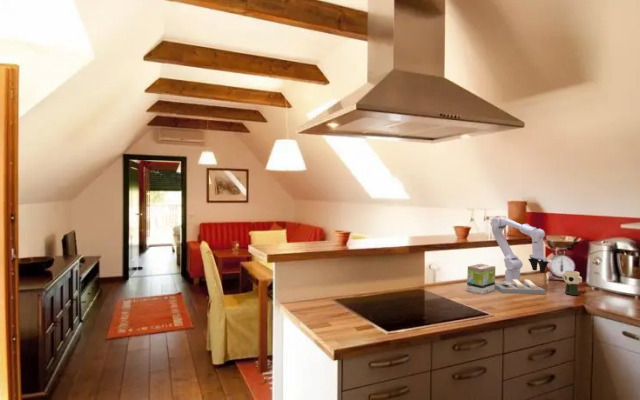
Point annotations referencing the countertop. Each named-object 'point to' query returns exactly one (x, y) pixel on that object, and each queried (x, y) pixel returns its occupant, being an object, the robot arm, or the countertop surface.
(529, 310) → the countertop surface
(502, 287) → the panel
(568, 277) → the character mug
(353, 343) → the countertop surface
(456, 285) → the countertop surface
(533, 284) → the rocker
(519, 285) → the rocker
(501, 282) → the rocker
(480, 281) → the tea box
